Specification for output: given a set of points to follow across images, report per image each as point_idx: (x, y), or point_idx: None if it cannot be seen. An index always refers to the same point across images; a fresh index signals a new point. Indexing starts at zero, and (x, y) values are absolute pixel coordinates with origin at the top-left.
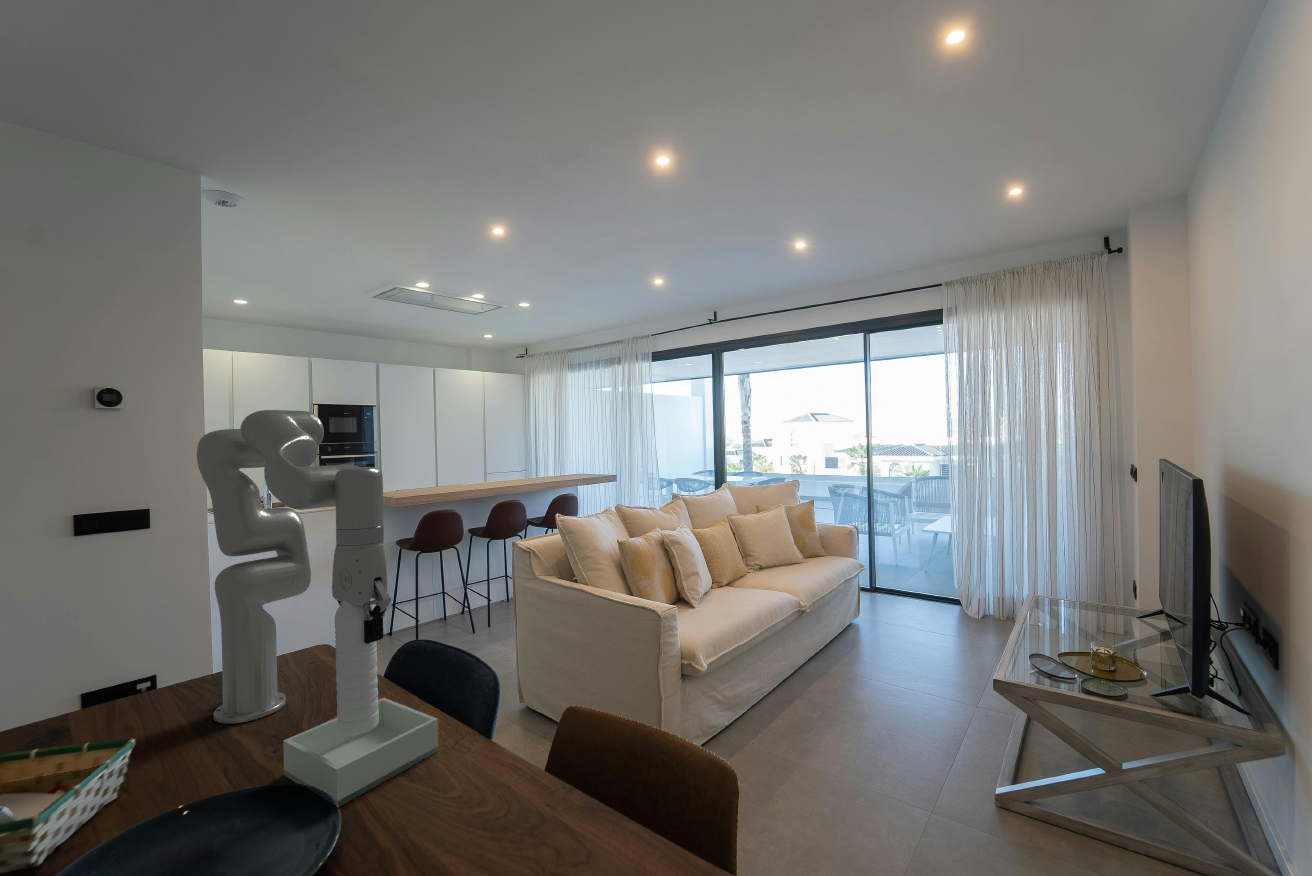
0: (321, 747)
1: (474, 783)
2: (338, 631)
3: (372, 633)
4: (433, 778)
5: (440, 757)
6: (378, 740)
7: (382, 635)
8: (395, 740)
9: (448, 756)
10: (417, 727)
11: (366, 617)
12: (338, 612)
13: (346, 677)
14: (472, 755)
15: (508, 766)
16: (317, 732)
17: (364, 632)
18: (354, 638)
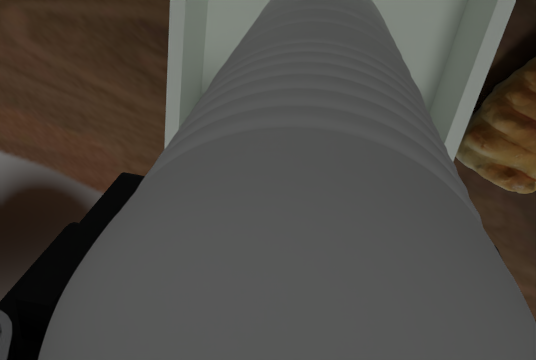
0: (470, 8)
1: (10, 68)
2: (327, 131)
3: (57, 237)
4: (104, 49)
5: (163, 124)
6: None
7: None
8: (168, 48)
9: (150, 133)
10: (173, 127)
11: (7, 343)
12: (358, 319)
13: (275, 24)
14: (105, 153)
15: (5, 144)
16: (490, 6)
17: (106, 221)
18: (172, 146)
